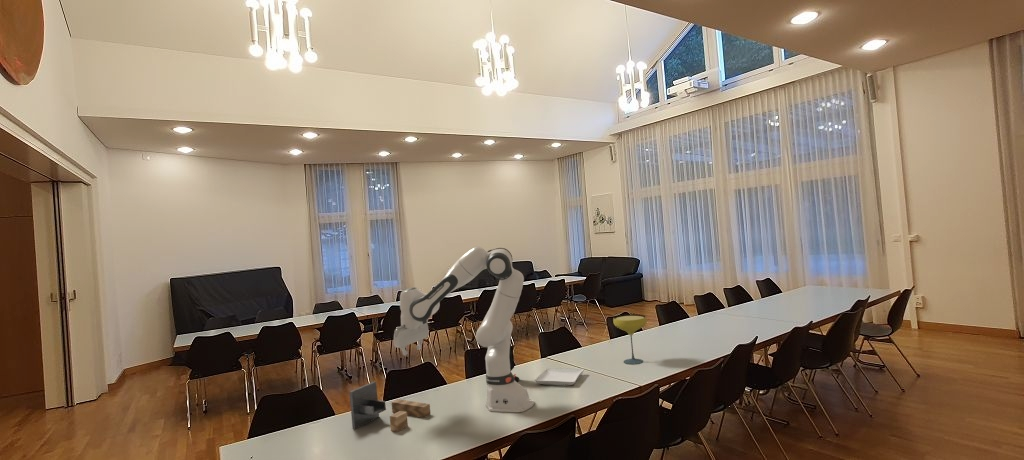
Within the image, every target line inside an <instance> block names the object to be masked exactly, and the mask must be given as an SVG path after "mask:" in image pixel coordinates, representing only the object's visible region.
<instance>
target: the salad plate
mask: <svg viewBox="0 0 1024 460" xmlns="http://www.w3.org/2000/svg"><path fill="white" fill-rule="evenodd" d="M584 371H585V368H546V369H545V370H543V371H542V372H541V373H540V374H539V375H538V376H537V377H536V378H535V379H534V382H535V383H537V384H539V385H549V386H572V385H575V383H576V381H577V380H578V378H579V377H580V376H581V375H582V374H583V373H584Z"/></svg>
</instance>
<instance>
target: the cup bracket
mask: <svg viewBox="0 0 1024 460" xmlns="http://www.w3.org/2000/svg"><path fill="white" fill-rule="evenodd" d="M377 387H378V386H377V381H371V382H369V383H367V384H364V385H362V386H359V387H357V388H355V389H352V390H350V391H349V403H350V414H351V424H352V425H351V426H352V429H353V430H356V429H358V428H360V427H362V426H363V425H366V424H368V423H370V422H372V421H374V420H376V419H378V418H380V413H382V412H385V411H386V410H387V408H386V407H387V406H386V401H385V400H380V399H378V389H377ZM377 417H378V418H377ZM373 419H374V420H373ZM371 420H372V421H371ZM369 421H370V422H369Z"/></svg>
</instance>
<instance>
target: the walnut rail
mask: <svg viewBox="0 0 1024 460" xmlns="http://www.w3.org/2000/svg"><path fill="white" fill-rule="evenodd" d="M399 411H403V412H407V416H412V417H417V418H423V419H425V418H427V417H429V416H431V415H432V414H431V404H430V403H425V402H419V401H413V400H405V399H400V398H399V399H395V400H393V401H391V412H392V413H393V412H394V413H393V414H395V413H397V412H399Z"/></svg>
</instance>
